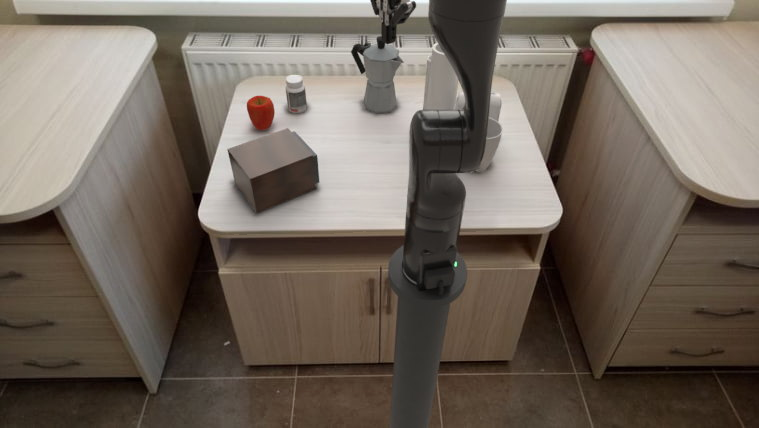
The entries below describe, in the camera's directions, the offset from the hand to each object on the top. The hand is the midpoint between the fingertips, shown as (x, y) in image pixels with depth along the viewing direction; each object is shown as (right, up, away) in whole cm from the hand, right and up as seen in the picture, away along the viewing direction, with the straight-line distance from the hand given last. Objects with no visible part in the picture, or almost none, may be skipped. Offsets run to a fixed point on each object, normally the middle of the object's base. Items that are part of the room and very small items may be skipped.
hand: (388, 41), depth 101 cm
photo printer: (+21, -14, +28) cm, 37 cm away
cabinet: (-24, -26, +14) cm, 38 cm away
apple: (-30, -11, +30) cm, 43 cm away
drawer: (-22, -25, +14) cm, 36 cm away
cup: (+20, -21, +20) cm, 36 cm away
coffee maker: (-2, -4, +38) cm, 38 cm away
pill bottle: (-22, -6, +35) cm, 42 cm away
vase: (+13, -9, +33) cm, 36 cm away
